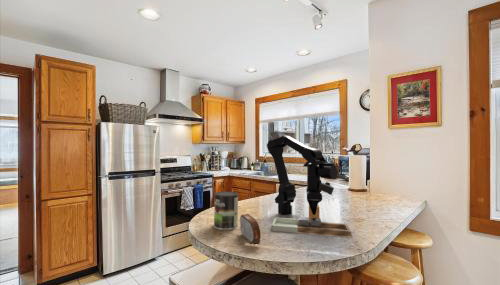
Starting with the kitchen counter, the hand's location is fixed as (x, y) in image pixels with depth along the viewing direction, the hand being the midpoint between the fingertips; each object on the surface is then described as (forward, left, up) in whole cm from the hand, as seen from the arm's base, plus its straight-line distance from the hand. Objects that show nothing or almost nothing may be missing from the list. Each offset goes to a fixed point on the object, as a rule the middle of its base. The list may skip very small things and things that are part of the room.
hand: (313, 211), depth 106 cm
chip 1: (-4, -10, -4) cm, 12 cm away
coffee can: (-37, -13, -6) cm, 40 cm away
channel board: (+3, -10, -5) cm, 12 cm away
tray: (-12, -10, -5) cm, 16 cm away
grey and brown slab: (-24, -25, -6) cm, 35 cm away
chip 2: (0, -10, -4) cm, 11 cm away
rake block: (0, 0, -5) cm, 5 cm away
